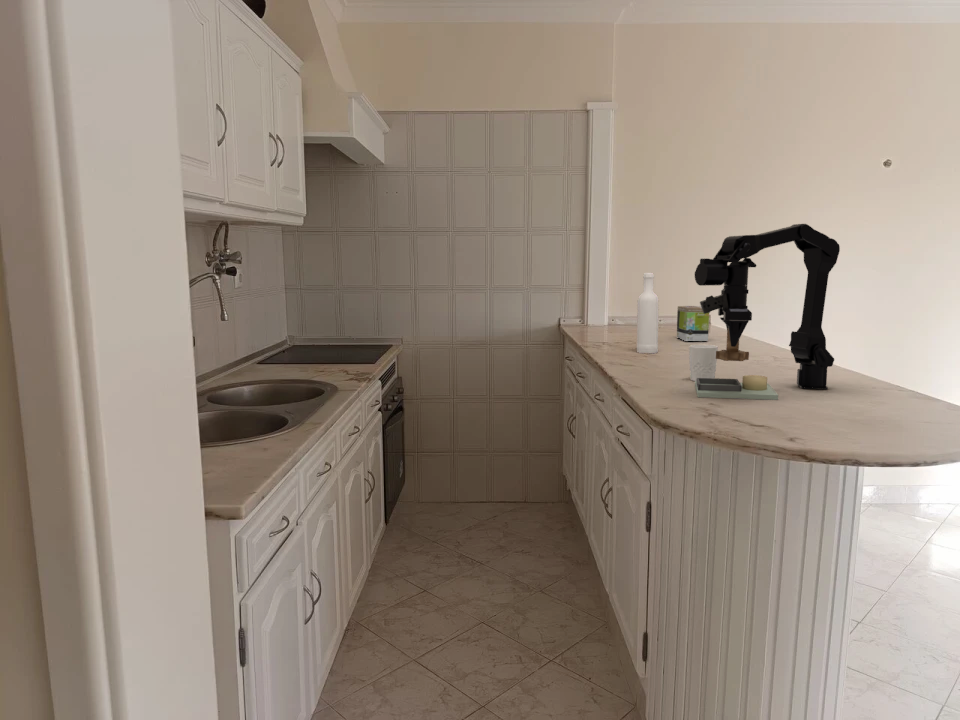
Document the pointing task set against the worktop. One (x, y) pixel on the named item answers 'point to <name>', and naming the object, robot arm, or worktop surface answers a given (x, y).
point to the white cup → (702, 361)
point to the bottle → (647, 317)
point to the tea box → (692, 323)
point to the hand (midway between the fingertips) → (732, 345)
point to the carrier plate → (736, 388)
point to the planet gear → (732, 352)
